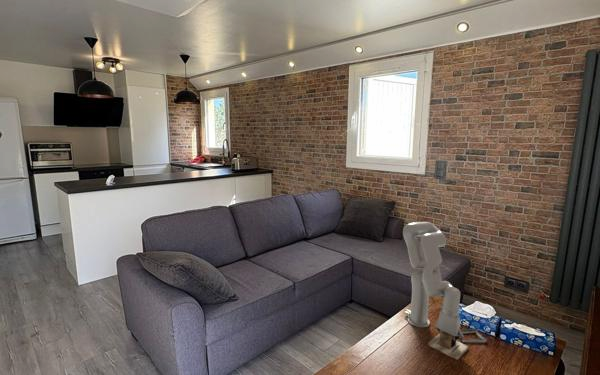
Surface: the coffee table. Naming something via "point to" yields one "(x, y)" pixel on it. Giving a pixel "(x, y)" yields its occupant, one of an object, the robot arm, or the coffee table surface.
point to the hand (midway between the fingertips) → (447, 342)
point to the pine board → (453, 351)
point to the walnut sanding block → (445, 340)
